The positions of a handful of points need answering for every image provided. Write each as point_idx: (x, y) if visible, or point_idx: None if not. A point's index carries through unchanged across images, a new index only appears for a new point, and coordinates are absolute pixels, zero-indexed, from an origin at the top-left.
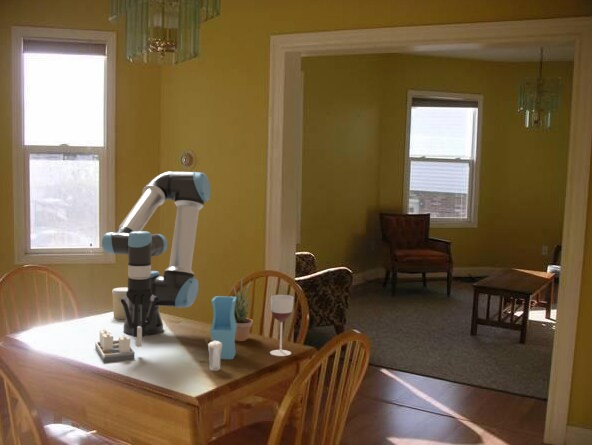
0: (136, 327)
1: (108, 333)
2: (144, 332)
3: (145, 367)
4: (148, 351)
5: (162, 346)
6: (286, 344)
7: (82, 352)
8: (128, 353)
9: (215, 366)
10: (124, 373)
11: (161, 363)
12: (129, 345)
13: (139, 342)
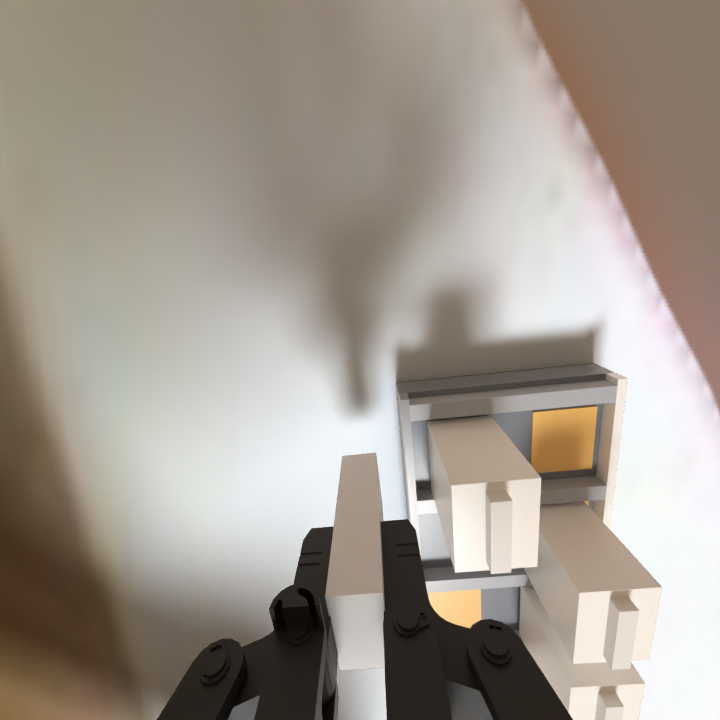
0: (397, 604)
1: (615, 647)
2: (303, 560)
3: (345, 177)
4: (297, 507)
5: (214, 572)
6: None
7: (654, 569)
8: (441, 400)
9: None
10: (514, 57)
11: (229, 246)
12: (442, 449)
13: (359, 475)
